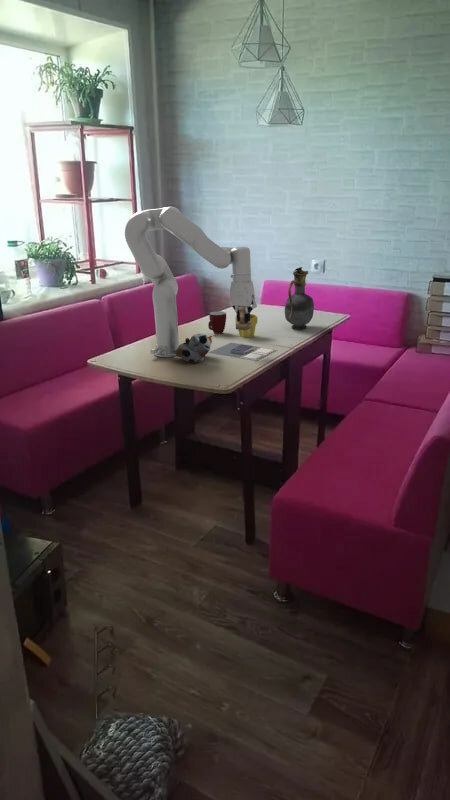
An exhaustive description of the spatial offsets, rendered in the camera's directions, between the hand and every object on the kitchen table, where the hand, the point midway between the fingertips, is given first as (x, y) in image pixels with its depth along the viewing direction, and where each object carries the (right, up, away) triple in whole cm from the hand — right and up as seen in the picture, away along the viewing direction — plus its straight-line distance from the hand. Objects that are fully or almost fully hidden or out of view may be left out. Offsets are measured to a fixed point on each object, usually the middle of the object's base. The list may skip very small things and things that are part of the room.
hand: (243, 321), depth 251 cm
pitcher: (+28, +1, +40) cm, 49 cm away
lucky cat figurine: (-21, -17, -3) cm, 27 cm away
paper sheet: (+6, -14, +1) cm, 16 cm away
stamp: (0, -3, +1) cm, 3 cm away
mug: (-12, -2, +35) cm, 37 cm away
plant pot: (+2, -4, +29) cm, 30 cm away
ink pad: (0, -13, +5) cm, 14 cm away
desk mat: (0, -13, +5) cm, 14 cm away
